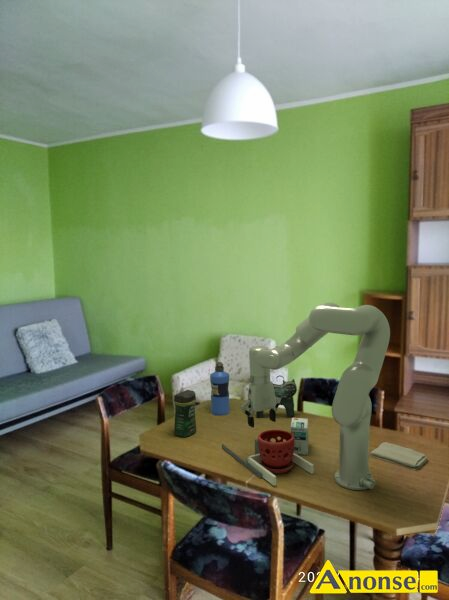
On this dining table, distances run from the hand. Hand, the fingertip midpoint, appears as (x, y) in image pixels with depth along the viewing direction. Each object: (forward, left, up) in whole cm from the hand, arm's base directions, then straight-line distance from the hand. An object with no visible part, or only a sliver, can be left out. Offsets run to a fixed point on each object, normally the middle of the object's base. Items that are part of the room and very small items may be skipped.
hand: (262, 423), depth 166 cm
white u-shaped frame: (-9, 0, -13) cm, 16 cm away
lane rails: (0, 0, -13) cm, 13 cm away
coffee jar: (+35, +16, -13) cm, 41 cm away
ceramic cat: (+31, -29, -13) cm, 44 cm away
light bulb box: (-2, -17, -13) cm, 21 cm away
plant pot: (-10, 0, -13) cm, 16 cm away
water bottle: (+50, -9, -13) cm, 53 cm away
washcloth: (-27, -44, -14) cm, 53 cm away
